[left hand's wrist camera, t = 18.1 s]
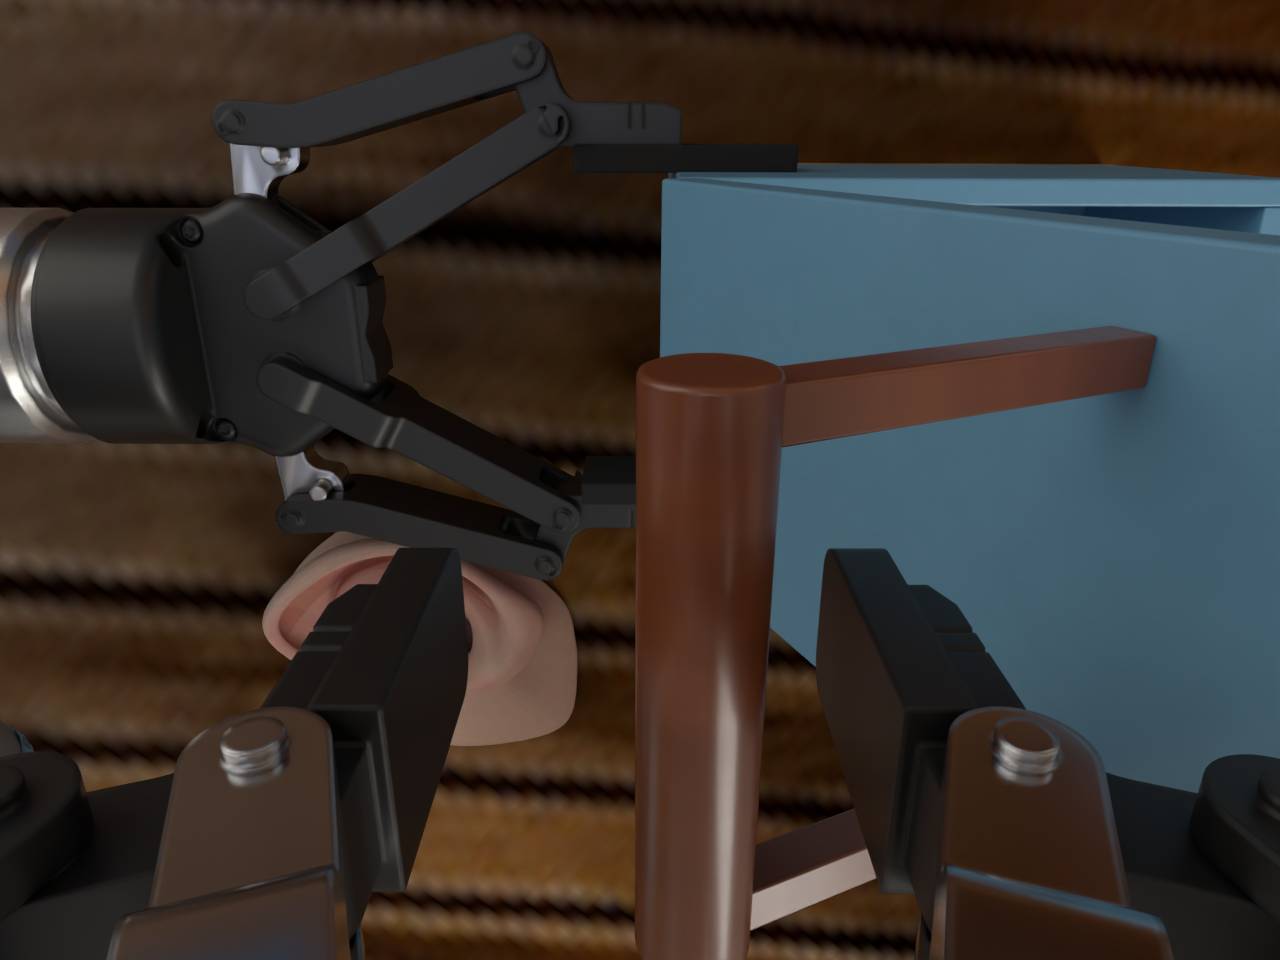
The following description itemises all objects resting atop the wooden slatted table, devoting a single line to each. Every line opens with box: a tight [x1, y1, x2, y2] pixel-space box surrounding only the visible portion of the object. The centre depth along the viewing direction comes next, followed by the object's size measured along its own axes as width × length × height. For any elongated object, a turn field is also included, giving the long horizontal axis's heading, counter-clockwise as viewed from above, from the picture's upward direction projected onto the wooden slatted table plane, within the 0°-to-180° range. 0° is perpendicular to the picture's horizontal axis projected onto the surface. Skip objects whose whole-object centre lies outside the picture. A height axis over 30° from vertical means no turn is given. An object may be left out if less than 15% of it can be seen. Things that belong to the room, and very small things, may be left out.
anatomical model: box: [262, 531, 577, 746], centre depth 39 cm, size 13×4×12 cm
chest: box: [668, 163, 1280, 235], centre depth 30 cm, size 16×10×11 cm, turn 90°
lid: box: [635, 178, 1280, 960], centre depth 16 cm, size 17×10×8 cm
